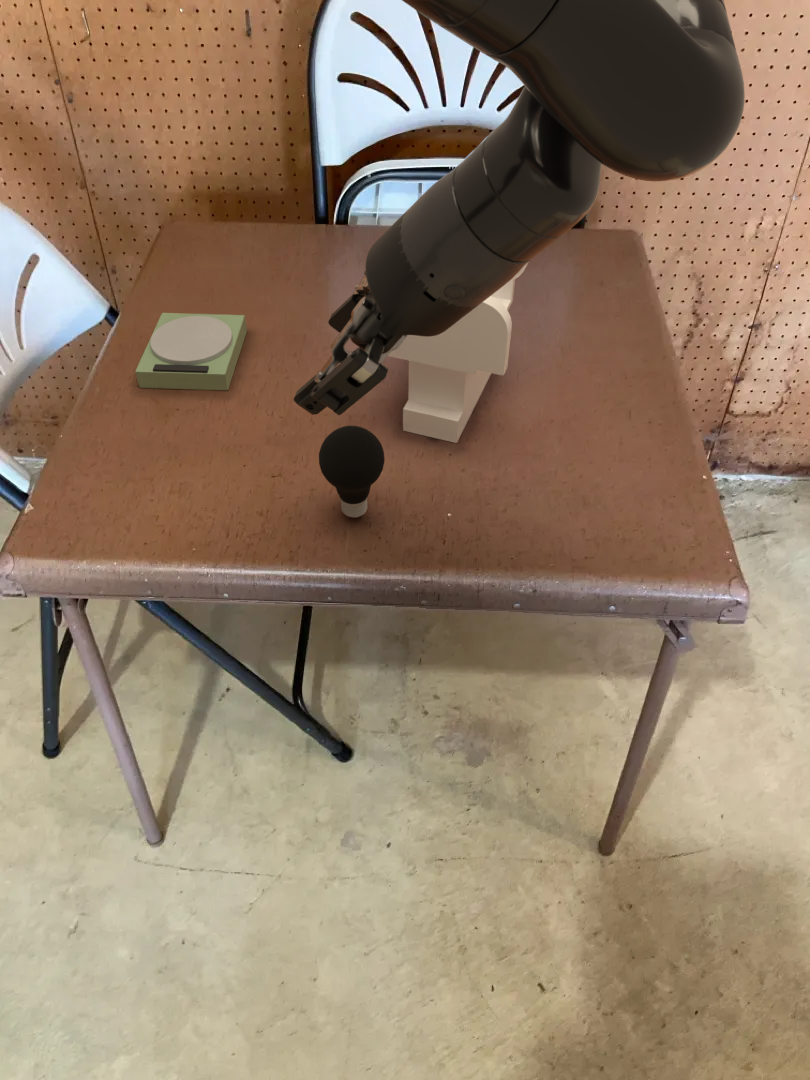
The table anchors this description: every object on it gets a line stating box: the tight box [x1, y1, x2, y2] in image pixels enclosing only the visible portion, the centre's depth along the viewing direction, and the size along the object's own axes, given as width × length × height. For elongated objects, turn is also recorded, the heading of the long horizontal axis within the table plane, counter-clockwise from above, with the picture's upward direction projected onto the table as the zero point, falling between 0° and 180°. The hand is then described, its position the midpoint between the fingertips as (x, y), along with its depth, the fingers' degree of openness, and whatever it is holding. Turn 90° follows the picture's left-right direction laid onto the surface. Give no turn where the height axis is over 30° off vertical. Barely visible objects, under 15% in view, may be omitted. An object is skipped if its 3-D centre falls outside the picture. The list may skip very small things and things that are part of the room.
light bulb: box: [318, 425, 386, 518], centre depth 77 cm, size 6×6×10 cm
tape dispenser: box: [387, 262, 529, 444], centre depth 86 cm, size 14×13×18 cm
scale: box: [135, 312, 248, 391], centre depth 97 cm, size 12×10×3 cm
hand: (321, 365), depth 66 cm, fingers open, 8 cm apart
